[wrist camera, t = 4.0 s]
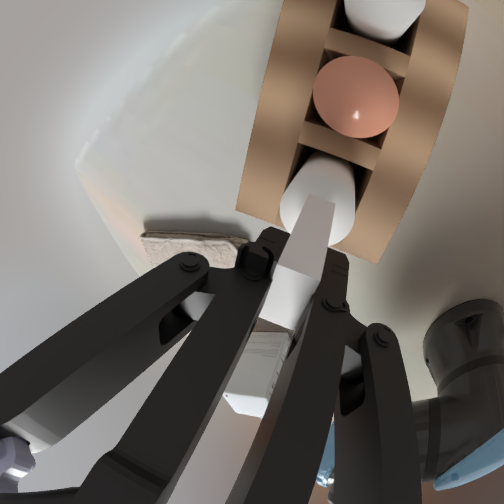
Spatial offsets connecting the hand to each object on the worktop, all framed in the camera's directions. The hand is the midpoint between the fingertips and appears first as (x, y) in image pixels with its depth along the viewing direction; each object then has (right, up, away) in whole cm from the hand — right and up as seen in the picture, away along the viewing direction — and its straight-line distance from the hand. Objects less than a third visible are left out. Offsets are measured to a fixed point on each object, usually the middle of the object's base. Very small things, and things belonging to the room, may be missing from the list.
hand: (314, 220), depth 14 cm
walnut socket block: (+6, +13, +8) cm, 17 cm away
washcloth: (-11, -3, +27) cm, 29 cm away
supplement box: (0, -18, +31) cm, 35 cm away
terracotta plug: (+5, +11, +4) cm, 12 cm away
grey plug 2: (+3, +5, +8) cm, 10 cm away
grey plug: (+6, +16, -1) cm, 17 cm away
